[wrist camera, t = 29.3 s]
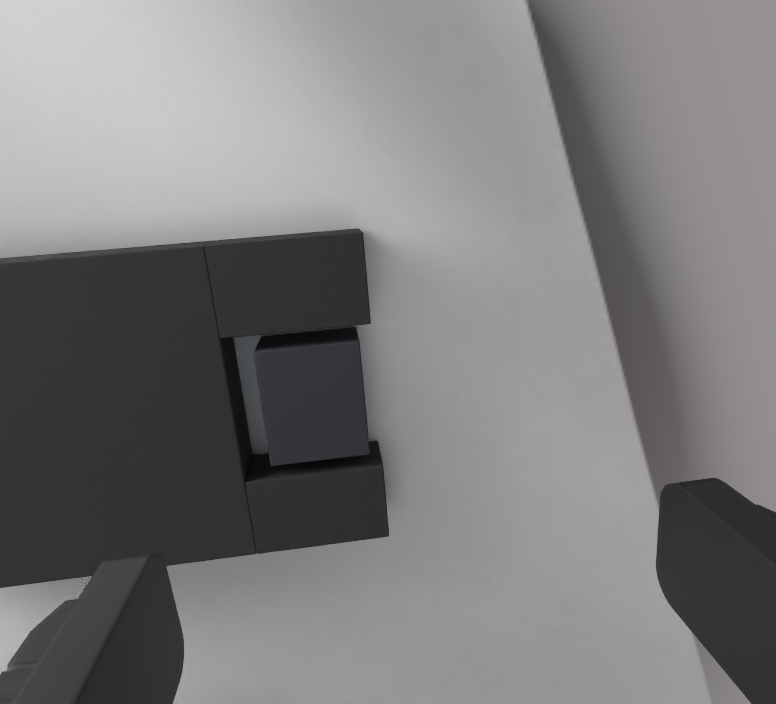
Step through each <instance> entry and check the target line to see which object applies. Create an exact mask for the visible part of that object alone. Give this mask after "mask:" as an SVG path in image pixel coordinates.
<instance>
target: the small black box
mask: <svg viewBox="0 0 776 704" xmlns="http://www.w3.org/2000/svg"><path fill="white" fill-rule="evenodd" d="M254 360H255V366H256V373H257V379H258V386H259V392H260V399H261V405H262V412H263V418H264V425H265V431H266V438H267V444H268V451H269V457H270V464H271V466H277V465H285V464H294V463H302V462H310V461H319V460H327V459H335V458H344V457H352V456H361V455H369V454H370V449H369V438H368V427H367V417H366V406H365V395H364V385H363V374H362V363H361V352H360V342H359V338H358V333H357V329H356V327H352V328H342V329H332V330H322V331H312V332H302V333H292V334H281V335H271V336H262V337H261V338H260V340H259V342H258V344H257V346H256V349H255V351H254Z"/></svg>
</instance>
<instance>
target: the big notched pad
mask: <svg viewBox="0 0 776 704" xmlns="http://www.w3.org/2000/svg"><path fill="white" fill-rule="evenodd" d="M370 323H371V320H370V308H369V297H368V285H367V274H366V262H365V250H364V239H363V232H362V231H361V230H360V229H348V230H336V231H324V232H312V233H300V234H288V235H276V236H264V237H252V238H240V239H228V240H218V241H205V242H193V243H181V244H169V245H157V246H145V247H133V248H121V249H109V250H97V251H85V252H73V253H61V254H49V255H37V256H25V257H13V258H1V259H0V588H3V587H10V586H18V585H25V584H33V583H40V582H48V581H56V580H63V579H71V578H78V577H86V576H93V575H94V573H95V572H96V570H97V568H98V567H99V566H100V564H101V563H102V562H103V561H105V560H107V559H114V558H121V557H128V556H135V555H143V554H150V553H159V554H160V555H161V556H162V557H163V559H164V561H165V564H166V566H169V565H176V564H184V563H191V562H199V561H206V560H214V559H221V558H229V557H236V556H244V555H252V554H256V553H258V554H260V553H268V552H275V551H283V550H290V549H298V548H305V547H313V546H320V545H328V544H336V543H343V542H351V541H358V540H366V539H373V538H381V537H388V536H389V528H388V517H387V505H386V494H385V482H384V471H383V463H382V459H381V454H380V449H379V444H378V442H377V441H374V442H369V449H370V454H369V455H361V456H352V457H344V458H335V459H327V460H319V461H310V462H302V463H294V464H285V465H277V466H271V464H270V457H269V454H264V455H255V456H252V450H251V444H250V438H249V432H248V426H247V420H246V414H245V408H244V401H243V395H242V389H241V383H240V377H239V371H238V365H237V359H236V353H235V346H234V340H233V337H241V336H251V335H261V334H271V333H281V332H292V331H302V330H312V329H322V328H332V327H342V326H352V325H362V324H370Z"/></svg>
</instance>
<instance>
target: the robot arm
mask: <svg viewBox="0 0 776 704" xmlns="http://www.w3.org/2000/svg"><path fill="white" fill-rule="evenodd" d="M656 570H657V576H658V580H659V583H660V586H661V589H662V591H663V594H664V596H665V598H666V599H667V601H668V603H669V604H670V605H671V607H672V608H673V609H674V611H675V612H676V613H677V614H678V615H679V617H680V618H681V619H682V620H683V621H684V623H685V624H686V625H687V626H688V627H689V629H690V630H691V631H692V632H693V634H694V635H695V636H696V637H697V638H698V640H699V641H700V642H701V643H702V644H703V646H704V647H705V648H706V649H707V650H708V652H709V653H710V654H711V655H712V656H713V658H714V659H715V660H716V661H717V662H718V664H719V665H720V666H721V667H722V669H723V670H724V671H725V672H726V673H727V675H728V676H729V677H730V678H731V679H732V681H733V682H734V683H735V684H736V685H737V686H738V688H739V689H740V690H741V691H742V693H743V694H744V695H745V696H746V697H747V699H748V700H749V701H750V702H751V704H776V512H773V511H771V510H769V509H767V508H764V507H762V506H760V505H755V504H754V503H752V502H751V501H749V500H748V499H747V498H745V497H744V496H742V495H741V494H740V493H738V492H737V491H736V490H734V489H733V488H731V487H730V486H729V485H727V484H726V483H725V482H723V481H721V480H719V479H717V478H709V479H701V480H694V481H687V482H680V483H672V484H668V485H666V486H665V487H664V488H663V490H662V492H661V496H660V509H659V525H658V541H657V557H656ZM183 660H184V640H183V633H182V628H181V624H180V620H179V616H178V612H177V608H176V604H175V600H174V596H173V592H172V588H171V584H170V580H169V576H168V572H167V568H166V564H165V561H164V559H163V557H162V556H161V555H160V554H159V553H150V554H143V555H135V556H128V557H121V558H114V559H107V560H105V561H103V562H102V563H101V564H100V566H99V567H98V568H97V570H96V572H95V573H94V575H93V576H92V578H91V579H90V581H89V583H88V584H87V586H86V587H85V589H84V590H83V592H82V594H81V595H80V597H79V598H78V599H75V600H68V601H65V602H64V603H63V604H61V605H60V606H59V607H58V608H57V609H56V610H54V611H53V612H52V613H51V614H50V615H49V616H48V617H46V618H45V619H44V620H43V621H42V622H41V623H40V624H38V625H37V626H36V627H35V628H34V629H33V630H32V631H31V632H30V633H29V635H28V636H27V638H26V639H25V640H24V642H23V643H22V645H21V646H20V648H19V649H18V650H17V652H16V653H15V655H14V656H13V658H12V659H11V660H10V662H9V663H8V668H7V671H6V672H2V673H1V675H0V704H173V701H174V698H175V695H176V691H177V688H178V685H179V682H180V678H181V674H182V669H183Z"/></svg>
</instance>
